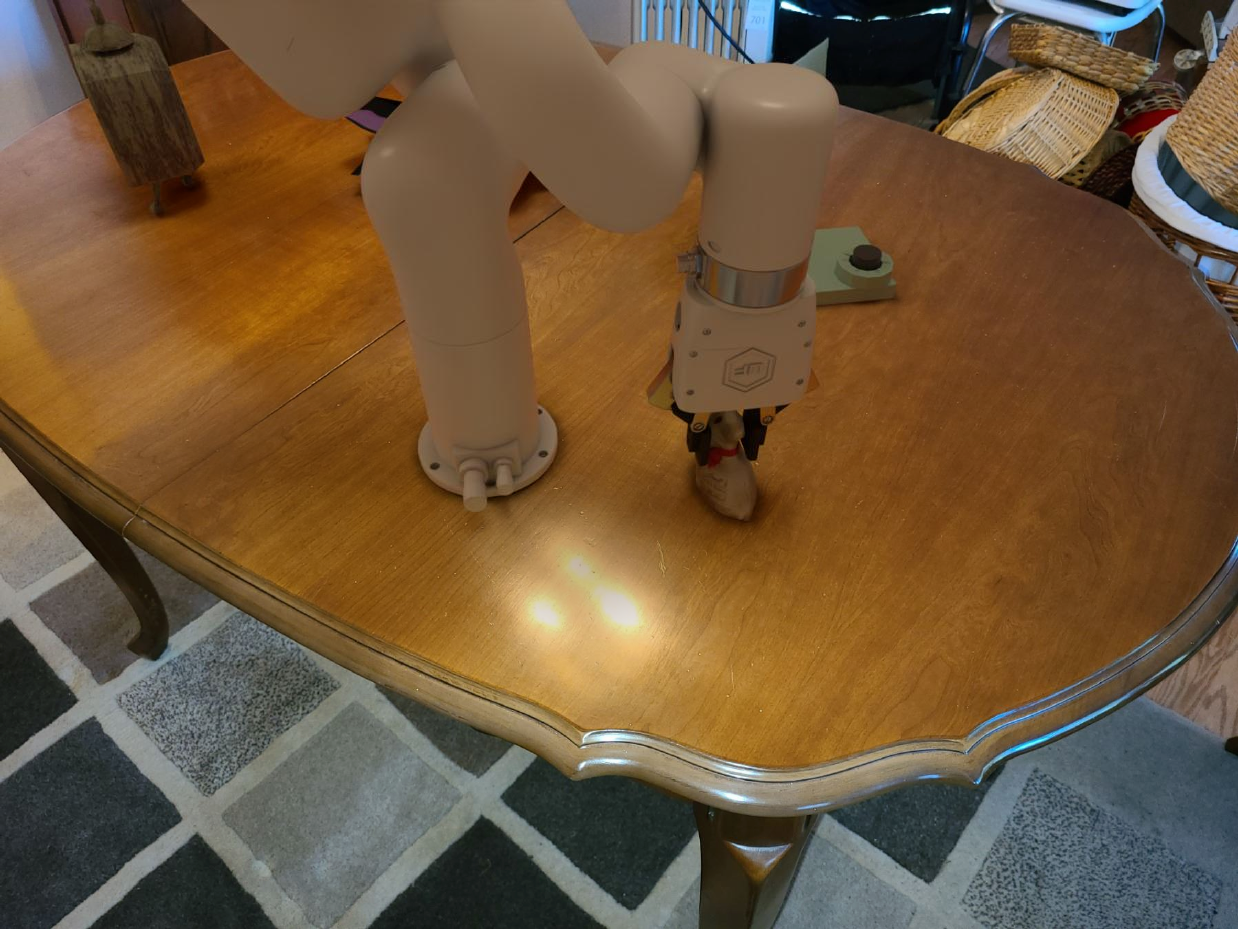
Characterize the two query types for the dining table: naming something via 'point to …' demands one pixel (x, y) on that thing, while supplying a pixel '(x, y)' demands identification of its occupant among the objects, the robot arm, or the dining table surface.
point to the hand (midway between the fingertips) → (723, 450)
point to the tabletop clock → (137, 105)
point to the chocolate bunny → (727, 469)
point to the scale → (846, 269)
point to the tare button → (866, 257)
